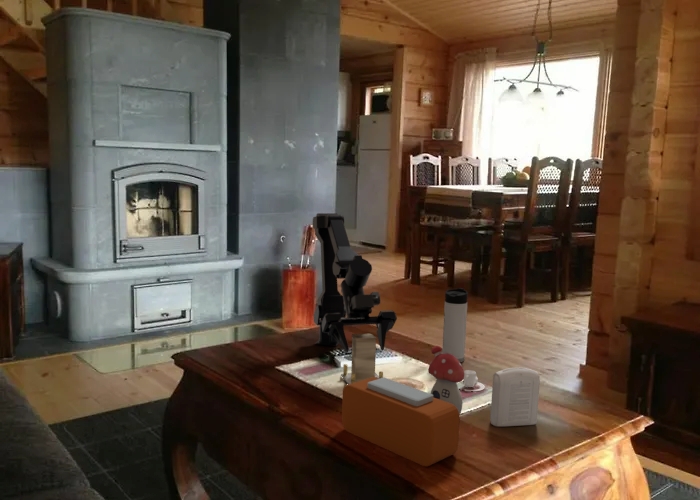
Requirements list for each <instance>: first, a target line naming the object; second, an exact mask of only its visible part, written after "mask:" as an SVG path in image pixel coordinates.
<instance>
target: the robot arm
mask: <svg viewBox="0 0 700 500" xmlns="http://www.w3.org/2000/svg"><path fill="white" fill-rule="evenodd" d="M312 217H313V218H312V228H313V229H314V236H315V237H316V238H317V240H318V242H319V243H320V259H321V260H320V262H321V263H320V264H321V285H322V286H321V287H322V289H321V290H322V291H321V293H320V295H319V297H318V299H317V305H316V306H315V310H314V313H313V315H312V316H313V322H314V324H315V325H316V326H318V327H319V330H318V334H319V335H318V339H317V341H316V342H315V345H318V346H327V347H328V346H331V347H337V346H338V345H340V347H341V348H342V349H343V350H344V352H345V353H346V354H347V353H349V344H348V341H347V337H346V332H345V329H344V327H345V326H361V325H362V326H365V325H375V327H376V329H377V330H376V334H377V335H376V337H377V340H378V344H379V348H380V350H381V352H383V351H384V350H385V344H386V336H387V333H388V332H389V331H390V330H392V329H393V327H394V325H395V324H396V322H397V320H398V317H397V314H396V312H395V311H394V310H379V313H378V315H376V316H370V315H371V314H372V311H373V310H372V309H374V308H375V306H379V305H380V304H381V295H380V293H379V291H372V292H371V293H370V294H365V290H364V287H365V286H366V285H367V283H368V281H369V278H370V276H371V274H372V271H373V267H372V264H371V263H370V262H369V261H368V260H367V259H365V258H363V255H362V254H361V255H359V254H358V253H357V252H356V251H355V250H354V249H352V247H351V244H350V241H349V237H348V234H347V231H346V227H345V217H344V215H341V214H338V213H334V212H332V213H328V212H327V213H326V212H324V213H319V212H318V213H316V215H315V216H312ZM338 279H339V280H341V279H342V281H341V283H340V289H341V290H340V291H339V289H338ZM340 292H341V293H340Z"/></svg>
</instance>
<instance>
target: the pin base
mask: <svg viewBox="0 0 700 500" xmlns="http://www.w3.org/2000/svg"><path fill="white" fill-rule="evenodd" d="M348 366H349V365H348V364H346V363H345V364H343V372H342V373H340V377H341V376H342V377H343V379H344V380H345V381H346V382H347V384H348V385H349V384H352V383H355V373H352V374H351V372H349V373H348ZM375 377H377V378H384V371H379V373H376V372H375ZM343 379H342V380H343ZM344 380H343V381H344ZM345 381H344V382H345ZM347 384H346V385H347Z"/></svg>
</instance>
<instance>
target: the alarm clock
mask: <svg viewBox="0 0 700 500" xmlns="http://www.w3.org/2000/svg"><path fill="white" fill-rule="evenodd" d="M430 393H431V392H430ZM430 393H429V392H427V391H424V390H420V389H418V388H415V387H412V386H410V385H407V384H404V383H401V382H398V381H395V380H392V379H389V378H387V377H383V378H377V377H371V378H368V379H365V380H362V381H358V382H355V383H352V384H349V385H347V384H346V385H345V386H344V387H343V389H342V399H341V400H342V401H341V403H342V405H341V406H342V407H341V408H342V409H341V424H342V426H343V429H344V430H345V431H346V432H347V433H350V434H352V435H354V436H355V437H358V438H360V439H363V440H364V441H367V442H370V443H371V444H373V445H376V446H378V447H379V448H380V447H381V448H382V449H385V450H386V451H390V452H391V453H393V454H396V455H398V456H400V457H402V458H404V459H407V460H408V461H411V462H413V463H416V464H418V465H420V466H422V467H426V468H427V467H430V466H432V465H435V464H436V463H438V462H440V461H443V460H444V459H447V458H449V457H451V456H453V455H455V454H456V453H457V452H458V450H459V438H460V437H459V436H460V435H459V434H460V419H461V417H460V415H461V414H460V415H459V411H458V409H457V408H456V406H455V405H453V404H451V403H448V402H445V401H442V400H440V399H437V398H434V397H433V394H430Z"/></svg>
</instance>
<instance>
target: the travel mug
mask: <svg viewBox="0 0 700 500" xmlns="http://www.w3.org/2000/svg"><path fill="white" fill-rule="evenodd" d="M444 298H445V299H444V308H443V309H444V310H443V311H444V312H443V328H442V329H443V331H442V332H443V334H442V335H443V336H442V350H441V352H442V353H443V354H444V353H448V354H451V355H453V356H454V357H456V358H457V359H458V361H459V362H460V363H462V362H464V361H465V359H466V358H465V357H466V356H465V353H466V335H467V321H468V320H467V313H468V291H467V290H465V288H461V287H457V288H453V289H447V290H446V291H445V293H444Z"/></svg>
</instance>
